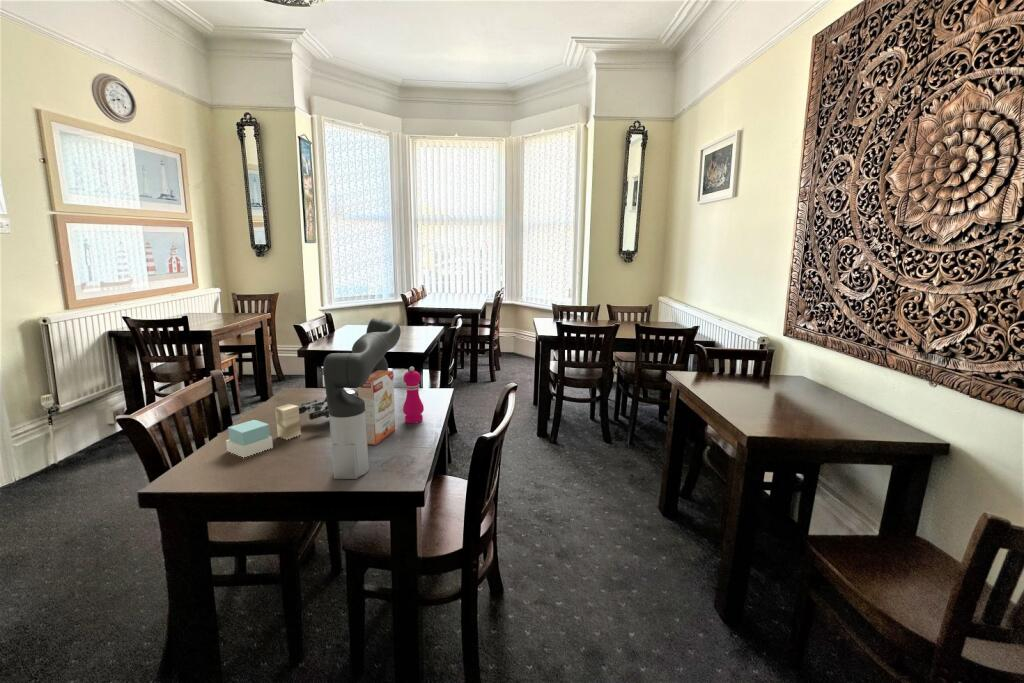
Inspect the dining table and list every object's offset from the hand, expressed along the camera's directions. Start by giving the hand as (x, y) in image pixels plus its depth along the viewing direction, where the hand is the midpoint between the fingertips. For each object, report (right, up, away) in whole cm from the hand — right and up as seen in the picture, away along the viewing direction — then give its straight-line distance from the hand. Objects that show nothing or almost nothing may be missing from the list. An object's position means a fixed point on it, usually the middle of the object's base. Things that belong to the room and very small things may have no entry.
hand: (301, 414), depth 157 cm
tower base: (-10, -9, -14) cm, 19 cm away
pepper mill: (+35, -4, +11) cm, 37 cm away
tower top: (-9, -5, -14) cm, 18 cm away
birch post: (-3, -7, -3) cm, 8 cm away
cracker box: (+27, -7, -4) cm, 28 cm away
